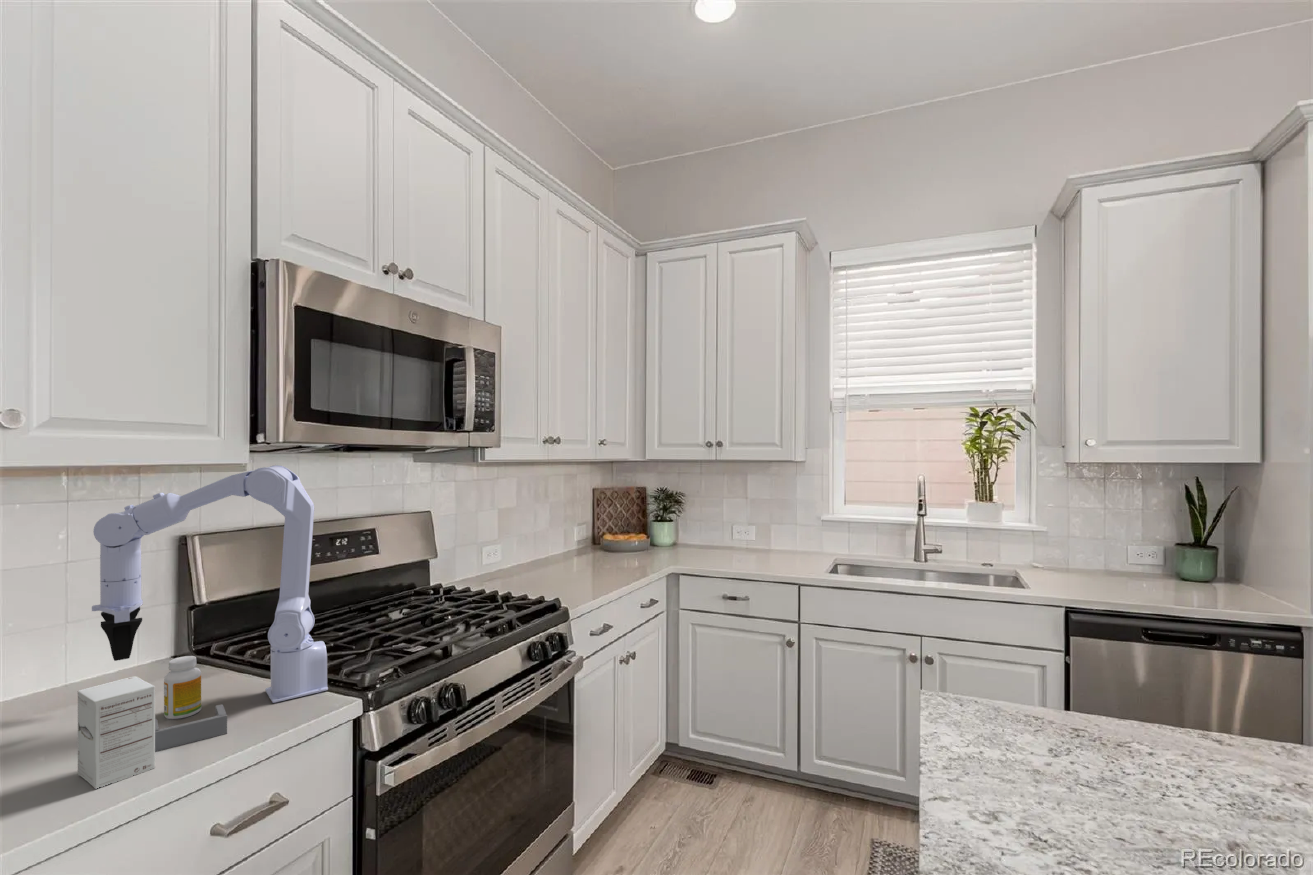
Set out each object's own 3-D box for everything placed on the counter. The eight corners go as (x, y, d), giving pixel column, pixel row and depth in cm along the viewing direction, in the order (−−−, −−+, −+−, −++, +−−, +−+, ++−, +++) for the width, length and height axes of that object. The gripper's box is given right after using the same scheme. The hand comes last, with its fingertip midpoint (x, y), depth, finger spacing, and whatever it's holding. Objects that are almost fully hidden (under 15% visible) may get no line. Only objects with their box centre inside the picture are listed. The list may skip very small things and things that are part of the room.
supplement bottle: (208, 707, 118) (208, 654, 118) (184, 720, 112) (184, 665, 112) (181, 706, 118) (181, 653, 118) (156, 719, 113) (155, 664, 113)
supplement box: (75, 776, 94) (75, 689, 94) (138, 755, 100) (137, 674, 100) (93, 791, 90) (92, 701, 90) (156, 768, 96) (156, 684, 96)
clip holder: (222, 721, 112) (222, 704, 112) (227, 733, 107) (227, 715, 107) (149, 738, 105) (149, 720, 105) (151, 752, 101) (150, 733, 101)
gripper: (92, 575, 119) (92, 648, 119) (91, 589, 108) (91, 669, 108) (141, 569, 124) (141, 640, 124) (144, 583, 113) (144, 660, 113)
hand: (121, 653), depth 116 cm, fingers open, 7 cm apart
